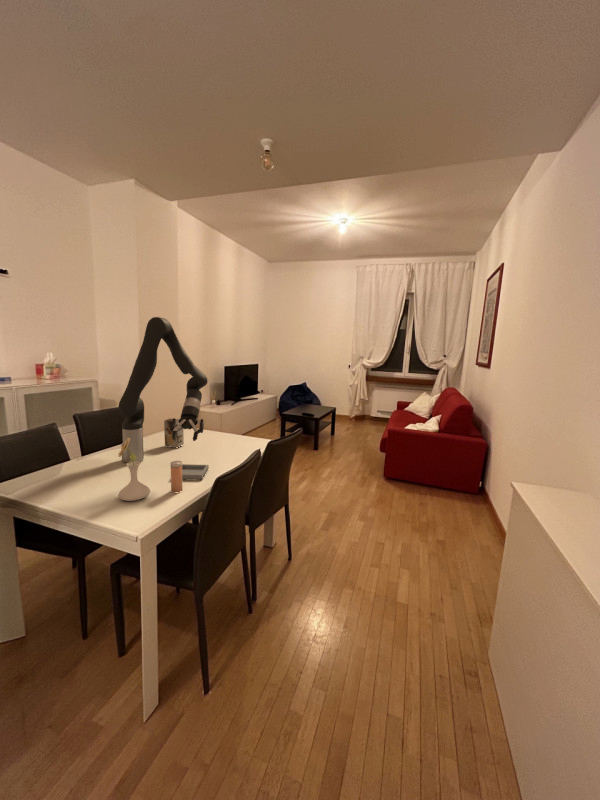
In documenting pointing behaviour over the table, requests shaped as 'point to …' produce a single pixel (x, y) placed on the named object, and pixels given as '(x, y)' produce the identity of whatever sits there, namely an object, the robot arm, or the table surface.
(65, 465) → the table surface
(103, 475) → the table surface
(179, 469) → the shaker
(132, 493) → the flower in vase
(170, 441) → the coffee box
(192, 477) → the tray
